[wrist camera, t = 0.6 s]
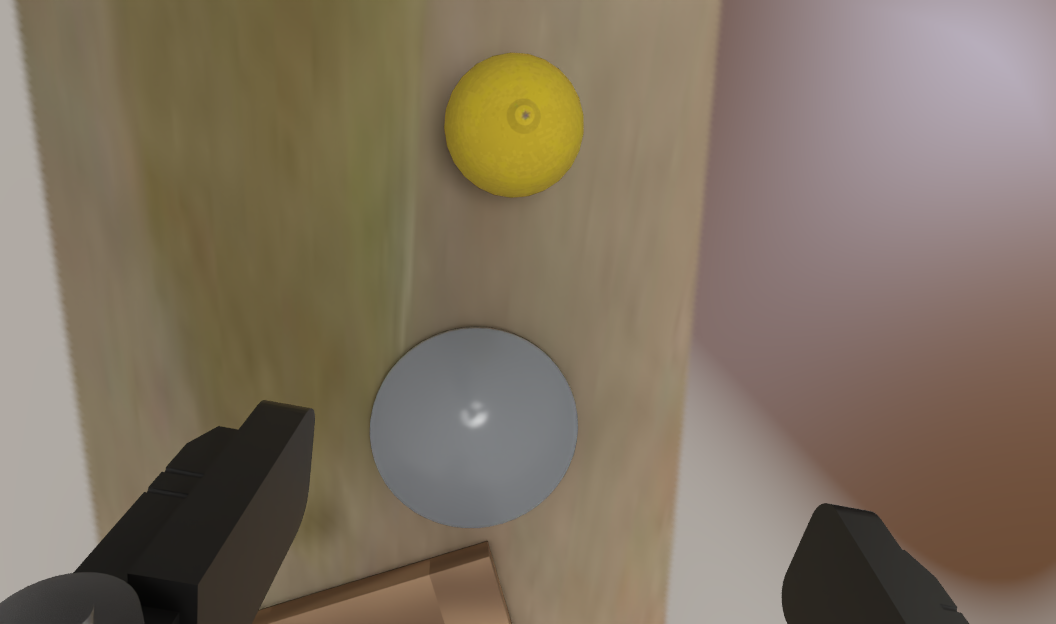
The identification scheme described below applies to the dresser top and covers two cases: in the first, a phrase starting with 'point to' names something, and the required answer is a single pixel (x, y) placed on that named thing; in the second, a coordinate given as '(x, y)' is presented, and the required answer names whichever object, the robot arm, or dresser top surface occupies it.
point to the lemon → (514, 125)
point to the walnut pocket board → (407, 595)
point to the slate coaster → (473, 427)
